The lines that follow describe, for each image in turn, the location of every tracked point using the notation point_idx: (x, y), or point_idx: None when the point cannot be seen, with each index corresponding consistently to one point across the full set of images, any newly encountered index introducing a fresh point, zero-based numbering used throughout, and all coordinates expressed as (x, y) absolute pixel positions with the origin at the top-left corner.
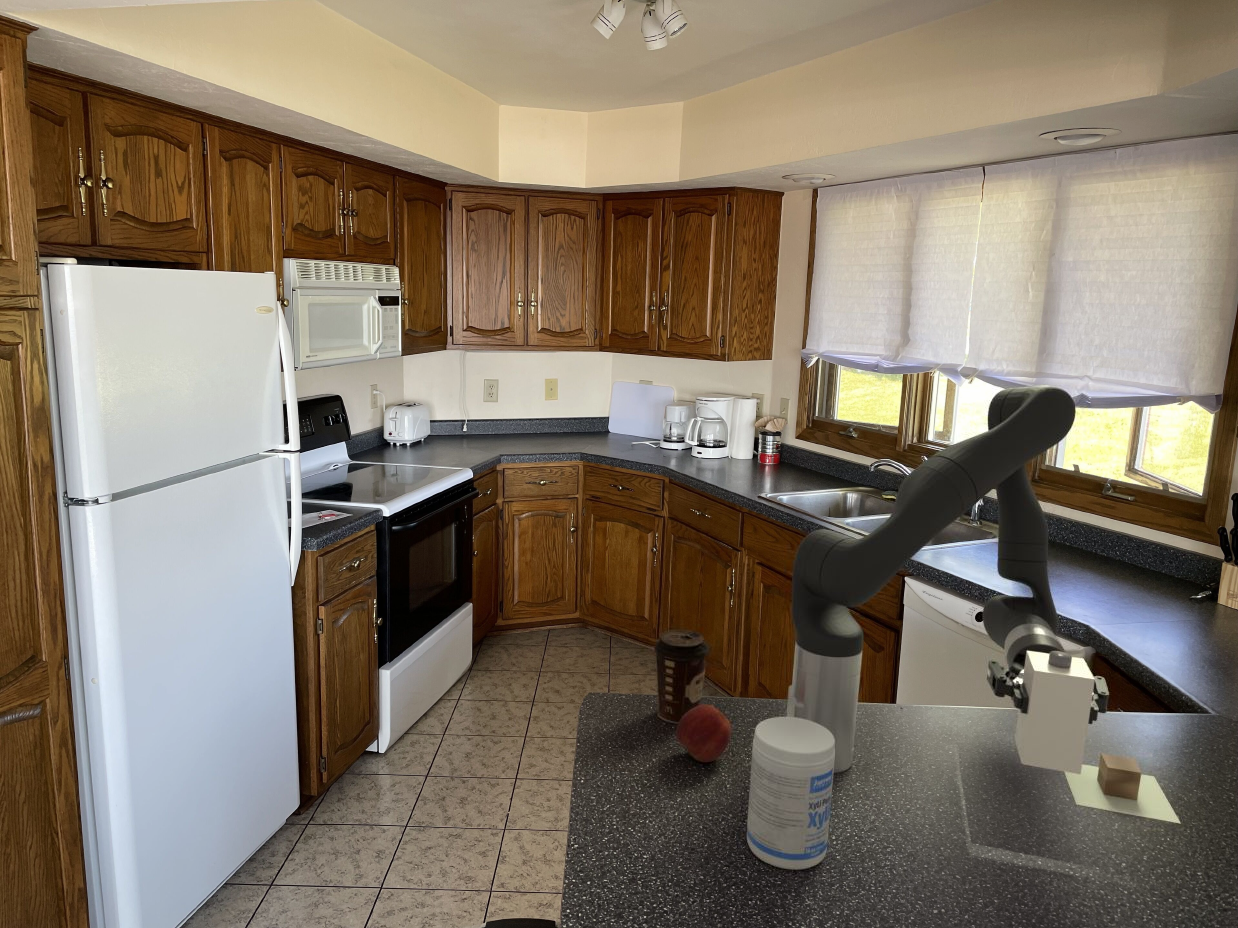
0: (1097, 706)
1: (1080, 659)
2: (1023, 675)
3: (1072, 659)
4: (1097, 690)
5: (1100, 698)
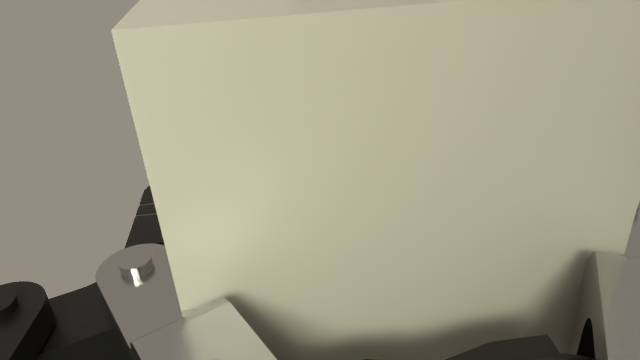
0: (139, 208)
1: (158, 21)
2: (626, 220)
3: (246, 6)
4: (28, 334)
5: (56, 300)
